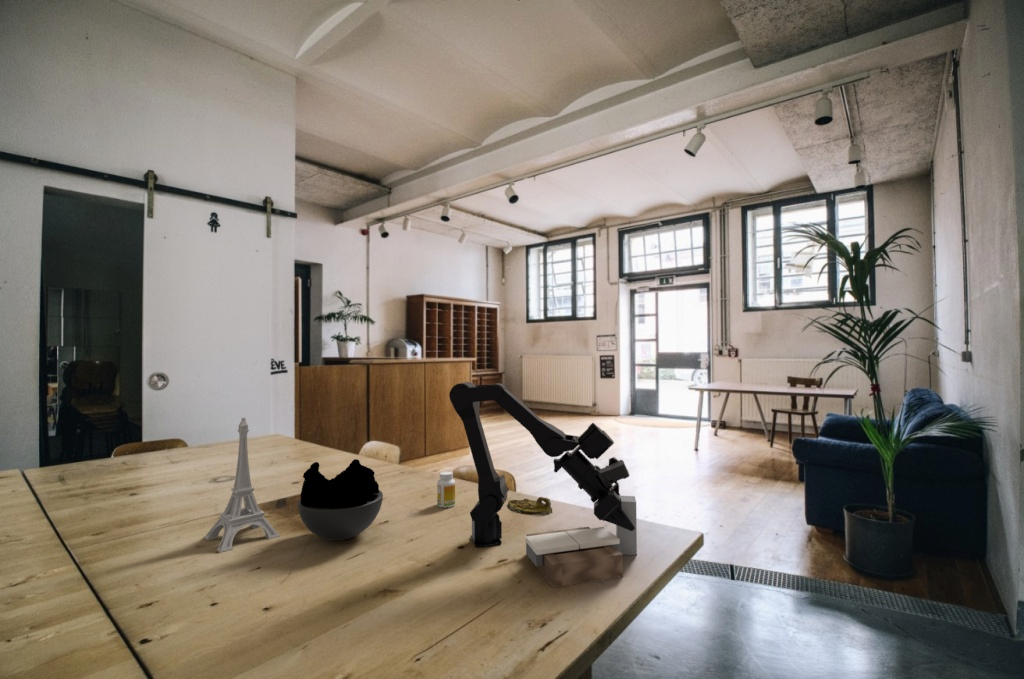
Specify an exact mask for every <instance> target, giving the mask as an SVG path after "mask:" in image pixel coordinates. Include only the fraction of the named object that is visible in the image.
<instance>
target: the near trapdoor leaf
mask: <svg viewBox="0 0 1024 679" xmlns="http://www.w3.org/2000/svg"><path fill="white" fill-rule="evenodd" d="M524 538H525V540H524V541H525V554H526V556H527V557H528V558H529V560H531V561H532V564H534V566H535V567H536V566H542V565H543V562H542V554H548V553H555V552H562V551H570V550H577V549H579V544H578V543H577V542H576V541H574V540H573V539H572V538H571V537H570V536H569V535H568V534H567V533H566V532H558V533H550V534H542V535H533V536H527V535H526V536H524Z"/></svg>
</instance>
